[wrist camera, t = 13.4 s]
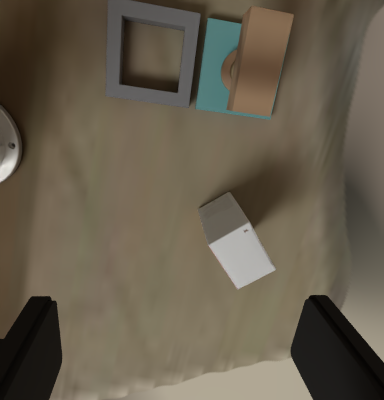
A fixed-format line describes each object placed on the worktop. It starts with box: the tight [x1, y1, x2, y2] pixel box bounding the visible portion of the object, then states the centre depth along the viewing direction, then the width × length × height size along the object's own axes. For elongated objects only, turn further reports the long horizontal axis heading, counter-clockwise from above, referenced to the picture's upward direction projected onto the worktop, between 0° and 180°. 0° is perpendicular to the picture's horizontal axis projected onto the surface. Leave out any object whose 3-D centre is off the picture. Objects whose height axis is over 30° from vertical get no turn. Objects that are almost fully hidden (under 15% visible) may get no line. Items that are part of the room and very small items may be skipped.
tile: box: [195, 18, 290, 120], centre depth 34 cm, size 10×10×1 cm
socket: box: [106, 0, 200, 108], centre depth 32 cm, size 10×10×2 cm
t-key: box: [221, 6, 294, 117], centre depth 29 cm, size 9×5×8 cm, turn 172°
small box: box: [198, 192, 276, 289], centre depth 36 cm, size 8×6×10 cm
